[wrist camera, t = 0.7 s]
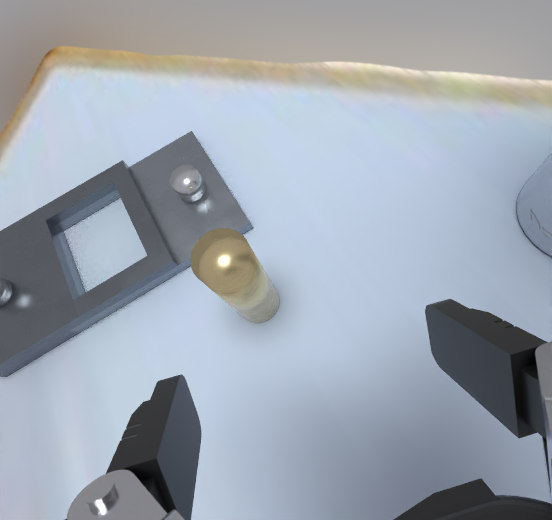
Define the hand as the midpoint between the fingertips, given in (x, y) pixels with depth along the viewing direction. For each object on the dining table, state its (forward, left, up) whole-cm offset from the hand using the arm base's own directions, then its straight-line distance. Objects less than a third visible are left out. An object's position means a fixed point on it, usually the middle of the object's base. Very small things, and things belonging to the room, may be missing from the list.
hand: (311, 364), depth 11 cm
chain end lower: (+8, -22, -18) cm, 29 cm away
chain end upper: (+15, -22, -18) cm, 32 cm away
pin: (+1, -9, -18) cm, 20 cm away
